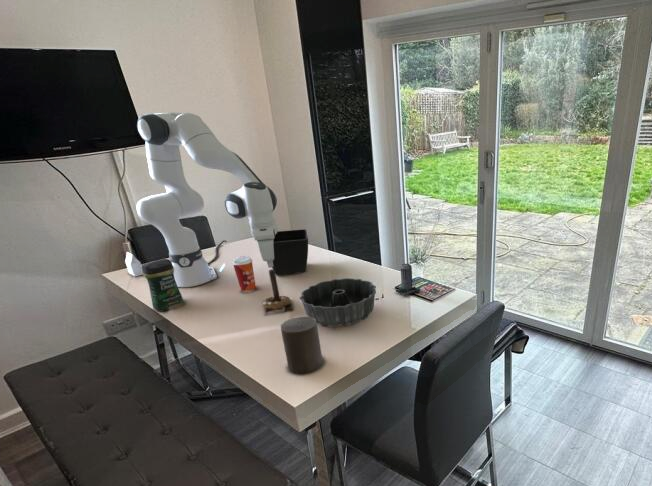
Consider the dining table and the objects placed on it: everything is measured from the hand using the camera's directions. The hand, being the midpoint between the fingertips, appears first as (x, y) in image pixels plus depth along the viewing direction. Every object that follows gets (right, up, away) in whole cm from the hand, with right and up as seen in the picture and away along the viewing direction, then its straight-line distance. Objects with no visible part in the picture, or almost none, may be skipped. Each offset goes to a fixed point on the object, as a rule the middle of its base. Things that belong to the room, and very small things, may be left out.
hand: (270, 265), depth 152 cm
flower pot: (-8, 0, +40) cm, 41 cm away
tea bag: (-79, -2, +38) cm, 88 cm away
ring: (+2, -14, +1) cm, 14 cm away
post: (+2, -16, +3) cm, 17 cm away
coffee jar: (-42, -16, +6) cm, 45 cm away
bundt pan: (+28, -19, -4) cm, 34 cm away
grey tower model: (+49, -11, +15) cm, 53 cm away
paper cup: (-17, -10, +19) cm, 27 cm away
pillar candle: (+24, -31, -32) cm, 51 cm away
